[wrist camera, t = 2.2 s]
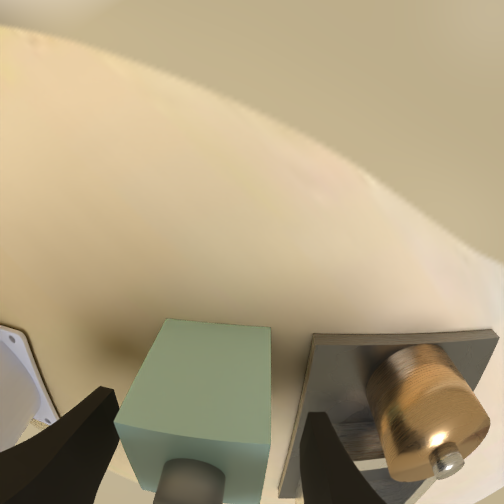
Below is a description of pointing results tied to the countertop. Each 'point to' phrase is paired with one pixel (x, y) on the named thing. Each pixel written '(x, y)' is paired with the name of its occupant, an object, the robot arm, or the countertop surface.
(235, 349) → the block
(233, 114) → the countertop surface
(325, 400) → the motor mount
